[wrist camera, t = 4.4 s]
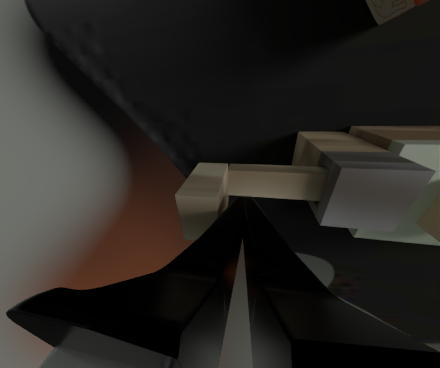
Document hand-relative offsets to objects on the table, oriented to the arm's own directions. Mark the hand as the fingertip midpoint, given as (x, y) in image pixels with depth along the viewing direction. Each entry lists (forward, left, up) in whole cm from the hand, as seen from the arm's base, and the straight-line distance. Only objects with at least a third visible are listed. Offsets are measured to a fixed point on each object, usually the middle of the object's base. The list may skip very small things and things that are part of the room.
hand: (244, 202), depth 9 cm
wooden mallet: (0, -2, -3) cm, 4 cm away
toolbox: (-1, -12, -10) cm, 16 cm away
